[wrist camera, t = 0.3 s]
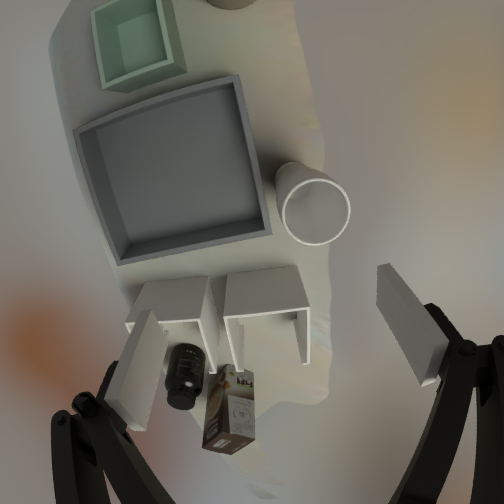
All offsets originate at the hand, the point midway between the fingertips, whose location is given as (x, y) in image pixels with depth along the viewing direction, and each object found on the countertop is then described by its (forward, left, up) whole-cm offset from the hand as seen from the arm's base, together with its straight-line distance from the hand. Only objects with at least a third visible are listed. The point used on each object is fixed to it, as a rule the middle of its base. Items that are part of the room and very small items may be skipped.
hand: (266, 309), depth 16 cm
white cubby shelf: (+18, -9, -27) cm, 34 cm away
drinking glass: (0, +6, -27) cm, 28 cm away
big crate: (-5, -10, -27) cm, 29 cm away
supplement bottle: (+29, -19, -27) cm, 44 cm away
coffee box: (+38, -13, -27) cm, 48 cm away
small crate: (-24, -10, -27) cm, 38 cm away
